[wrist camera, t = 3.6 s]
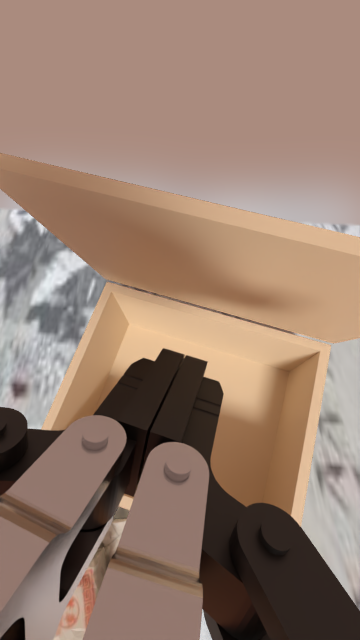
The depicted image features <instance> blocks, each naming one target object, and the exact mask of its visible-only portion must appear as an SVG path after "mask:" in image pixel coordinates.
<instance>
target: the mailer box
mask: <svg viewBox="0 0 360 640" xmlns="http://www.w3.org/2000/svg"><path fill="white" fill-rule="evenodd" d="M163 348H165V349H169V350H172V351H175V352H178V353H182V354H185V356H186V355H188V356H192V357H195V358H198V359H201V360H204V361H208V363H207V367H206V370H205V374H204V377H206V378H210V379H213V380H216V381H219V382H220V385H221V387H222V390H223V393H224V395H223V400H222V405H221V410H220V415H219V419H218V424H217V429H216V434H215V439H214V444H213V449H212V454H211V460H210V463H211V469H212V472H213V475H214V477H215V479H216V481H217V482H218V483H219V485H220V486H221V487H222V488H223V489H224V490H225V491H226V492H227V493H228V494H229V495H231V496H232V497H233V498H235V499H236V500H237V501H239V502H240V503H242V504H243V505H244V506H246V507H247V506H249V505H251V504H254V503H268V504H271V505H274V506H277V507H279V508H281V509H282V510H284V511H285V512H287V513H288V514H289V515H290V516H292V517H293V518H294V520H295V521H296V522H297V523H298V524H299V525H300V527H301V522H302V516H303V510H304V504H305V498H306V492H307V486H308V480H309V474H310V468H311V462H312V456H313V450H314V444H315V438H316V432H317V426H318V421H319V415H320V409H321V403H322V397H323V391H324V385H325V379H326V373H327V367H328V361H329V355H330V349H331V345H328V344H325V343H321V342H318V341H314V340H311V339H307V338H304V337H300V336H297V335H293V334H290V333H286V332H283V331H279V330H276V329H272V328H269V327H265V326H261V325H258V324H254V323H251V322H247V321H244V320H240V319H237V318H233V317H230V316H226V315H223V314H219V313H216V312H212V311H209V310H205V309H202V308H198V307H194V306H191V305H187V304H184V303H180V302H177V301H173V300H170V299H166V298H163V297H159V296H156V295H152V294H149V293H145V292H142V291H138V290H135V289H131V288H127V287H124V286H120V285H117V284H113V283H110V282H107V283H106V285H105V287H104V289H103V292H102V294H101V296H100V298H99V301H98V303H97V305H96V307H95V310H94V312H93V314H92V316H91V319H90V321H89V323H88V325H87V328H86V330H85V332H84V334H83V337H82V339H81V341H80V343H79V346H78V348H77V350H76V352H75V355H74V357H73V359H72V361H71V363H70V366H69V368H68V370H67V372H66V375H65V377H64V379H63V381H62V384H61V386H60V388H59V390H58V393H57V395H56V397H55V399H54V402H53V404H52V406H51V408H50V411H49V413H48V415H47V417H46V420H45V422H44V424H43V426H42V429H41V430H58V431H59V430H66V429H67V428H68V426H70V425H71V424H72V423H73V422H75V421H76V420H78V419H80V418H83V417H86V416H92V415H93V414H94V413H95V412H96V410H97V409H98V408H99V406H100V405H101V404H102V402H103V401H104V400H105V398H106V397H107V396H108V394H109V393H110V392H111V390H112V389H113V388H114V386H115V385H116V384H117V383H118V381H119V380H120V378H121V377H122V376H123V375H124V373H125V372H126V370H127V369H128V368H129V366H130V365H131V364H132V363H134V362H136V361H138V360H140V359H142V358H146V359H149V360H152V361H155V360H156V358H157V357H158V355H159V354H160V352H161V350H162V349H163ZM134 496H135V495H134ZM133 499H134V497H132V496H130V495H127V494H124V495H123V497H122V499H121V502H120V504H119V507H122V508H125V509H127V510H130V508H131V505H132V502H133Z"/></svg>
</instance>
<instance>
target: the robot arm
mask: <svg viewBox="0 0 360 640" xmlns="http://www.w3.org/2000/svg"><path fill="white" fill-rule="evenodd" d="M207 363H208V361H204V360H201V359H198V358H195V357H192V356H188V355H186V356H185V354H182V353H178V352H175V351H172V350H169V349H165V348H163V349H162V350H161V352H160V354H159V355H158V357H157V358H156V360H155V361H152V360H149V359H146V358H142V359H140V360H138V361H136V362H134V363H132V364H131V365H130V366H129V368H128V369H127V370H126V372H125V373H124V375H123V376H122V377H121V378H120V380H119V381H118V383H117V384H116V385H115V386H114V388H113V389H112V390H111V392H110V393H109V394H108V396H107V397H106V398H105V400H104V401H103V402H102V404H101V405H100V406H99V408H98V409H97V410H96V412H95V413H94V414H93V415H92V416H86V417H83V418H80V419H78V420H76V421H75V422H73V423H72V424H71V425H70V426H68V428H67V429H66V430H59V431H58V430H39V429H27V420H26V418H25V417H24V415H23V414H22V413H20V412H19V411H17V410H14V409H11V408H5V407H0V640H53V639H54V636H55V634H56V631H57V628H58V625H59V622H60V620H61V617H62V615H63V613H64V611H65V608H66V606H67V604H68V603H69V601H70V599H71V597H72V595H73V593H74V592H75V590H76V588H77V586H78V584H79V582H80V581H81V579H82V577H83V575H84V573H85V571H86V569H87V568H88V566H89V564H90V562H91V560H92V558H93V557H94V555H95V553H96V551H97V549H98V547H99V546H100V544H101V542H102V540H103V538H104V536H105V535H106V533H107V531H108V529H109V527H110V525H111V523H112V521H113V517H114V514H115V512H116V510H117V508H118V506H119V504H120V502H121V499H122V497H123V495H124V494H127V495H130V496H132V497H134V499H133V502H132V505H131V508H130V511H129V514H128V517H127V520H126V523H125V526H124V529H123V532H122V535H121V538H120V541H119V544H118V547H117V549H116V552H115V554H113V556H112V558H111V560H110V562H109V565H108V567H107V570H106V573H105V576H104V579H103V581H102V584H101V587H100V590H99V593H98V596H97V599H96V602H95V605H94V608H93V611H92V614H91V616H90V619H89V622H88V625H87V628H86V631H85V634H84V637H83V640H199V639H200V628H201V616H202V609H203V611H204V617H205V620H206V624H207V626H208V629H209V632H210V634H211V637H212V640H360V611H359V609H358V608H357V607H356V605H355V604H354V602H353V601H352V599H351V598H350V597H349V595H348V594H347V592H346V591H345V589H344V588H343V587H342V585H341V584H340V582H339V581H338V579H337V578H336V577H335V575H334V574H333V572H332V571H331V569H330V568H329V567H328V565H327V564H326V562H325V561H324V559H323V558H322V557H321V555H320V554H319V552H318V551H317V549H316V548H315V547H314V545H313V544H312V542H311V541H310V539H309V538H308V537H307V535H306V534H305V532H304V531H303V529H302V528H301V527H300V525H299V524H298V523H297V522H296V521H295V520H294V518H293V517H292V516H290V515H289V514H288V513H287V512H285V511H284V510H282V509H281V508H279V507H277V506H274V505H271V504H268V503H254V504H251V505H249V506H247V507H246V506H244V505H243V504H242V503H240V502H239V501H237V500H236V499H235V498H233V497H232V496H231V495H229V494H228V493H227V492H226V491H225V490H224V489H223V488H222V487H221V486H220V485H219V483H218V482H217V481H216V479H215V477H214V475H213V472H212V469H211V463H210V460H211V454H212V449H213V444H214V439H215V434H216V429H217V424H218V419H219V415H220V410H221V405H222V400H223V395H224V393H223V390H222V387H221V385H220V382H219V381H216V380H213V379H210V378H206V377H204V374H205V370H206V367H207ZM134 495H135V496H134Z"/></svg>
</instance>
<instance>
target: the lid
mask: <svg viewBox="0 0 360 640" xmlns="http://www.w3.org/2000/svg"><path fill="white" fill-rule="evenodd" d="M0 189H1V190H2V191H3V192H5V193H6V194H7V195H8V196H9V197H10V198H12V199H13V200H14V201H15V202H16V203H17V204H19V205H20V206H21V207H22V208H23V209H24V210H26V211H27V212H28V213H29V214H30V215H31V216H33V217H34V218H35V219H36V220H37V221H38V222H40V223H41V224H42V225H43V226H44V227H45V228H47V229H48V230H49V231H50V232H51V233H52V234H54V235H55V236H56V237H57V238H58V239H59V240H61V241H62V242H63V243H64V244H65V245H66V246H68V247H69V248H70V249H71V250H72V251H73V252H75V253H76V254H77V255H78V256H79V257H80V258H82V259H83V260H84V261H85V262H86V263H87V264H89V265H90V266H91V267H92V268H93V269H94V270H96V271H97V272H98V273H99V274H100V275H101V276H103V277H104V278H105V279H107V280H111V281H114V282H118V283H121V284H125V285H128V286H132V287H135V288H139V289H142V290H146V291H149V292H153V293H157V294H160V295H164V296H167V297H171V298H174V299H178V300H181V301H185V302H188V303H192V304H195V305H199V306H203V307H206V308H210V309H213V310H217V311H220V312H224V313H227V314H231V315H234V316H238V317H241V318H245V319H249V320H252V321H256V322H259V323H263V324H266V325H270V326H273V327H277V328H280V329H284V330H288V331H291V332H295V333H298V334H302V335H305V336H309V337H312V338H316V339H319V340H323V341H326V342H330V343H339V342H343V341H348V340H353V339H357V338H360V237H356V236H352V235H348V234H343V233H339V232H335V231H331V230H326V229H322V228H318V227H314V226H309V225H305V224H301V223H297V222H292V221H288V220H283V219H280V218H275V217H270V216H267V215H262V214H258V213H254V212H249V211H245V210H241V209H237V208H232V207H228V206H224V205H220V204H215V203H211V202H207V201H203V200H198V199H194V198H190V197H185V196H182V195H177V194H173V193H169V192H164V191H160V190H156V189H152V188H147V187H143V186H139V185H134V184H130V183H126V182H122V181H117V180H113V179H109V178H105V177H100V176H96V175H92V174H88V173H83V172H79V171H75V170H71V169H66V168H62V167H58V166H54V165H49V164H45V163H41V162H37V161H32V160H28V159H24V158H20V157H15V156H11V155H6V154H2V153H0Z"/></svg>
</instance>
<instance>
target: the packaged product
mask: <svg viewBox="0 0 360 640" xmlns="http://www.w3.org/2000/svg"><path fill="white" fill-rule="evenodd" d="M126 520H127V518H124V519H113V521H112V523H111V525H110V527H109V529H108V531H107V533H106V535H105V536H104V538H103V540H102V542H101V544H100V546H99V547H98V549H97V551H96V553H95V555H94V557H93V558H92V560H91V562H90V564H89V566H88V568H87V569H86V571H85V573H84V575H83V577H82V579H81V581H80V582H79V584H78V586H77V588H76V590H75V592H74V593H73V595H72V597H71V599H70V601H69V603H68V604H67V606H66V608H65V611H64V613H63V615H62V617H61V620H60V622H59V625H58V628H57V631H56V634H55V636H54V639H53V640H83V637H84V634H85V631H86V628H87V625H88V622H89V619H90V616H91V614H92V611H93V608H94V605H95V602H96V599H97V596H98V593H99V590H100V587H101V584H102V581H103V579H104V576H105V573H106V570H107V567H108V565H109V562H110V560H111V558H112V556H113V554H115V552H116V549H117V547H118V544H119V541H120V538H121V535H122V532H123V529H124V526H125V523H126Z"/></svg>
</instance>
